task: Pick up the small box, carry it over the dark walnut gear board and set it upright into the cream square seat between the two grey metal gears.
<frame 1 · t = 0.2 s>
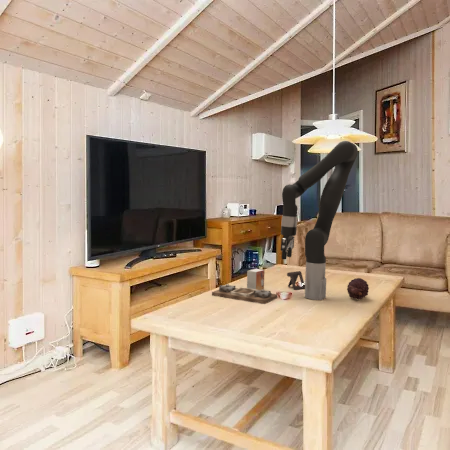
hand: (286, 258, 210), 18 cm above the table, tool pointing down, fingers open, 8 cm apart
gear board: (244, 296, 204), on the table
portable electronic device stand: (296, 288, 225), on the table
small box: (255, 291, 217), on the table
pine cone: (357, 299, 204), on the table
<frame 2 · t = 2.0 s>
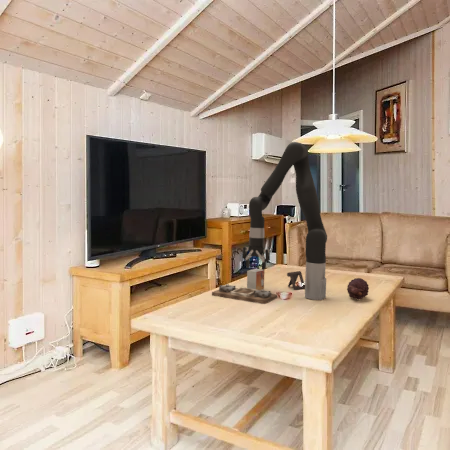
hand: (255, 268, 216), 11 cm above the table, tool pointing down, fingers open, 8 cm apart
nothing on the table moved.
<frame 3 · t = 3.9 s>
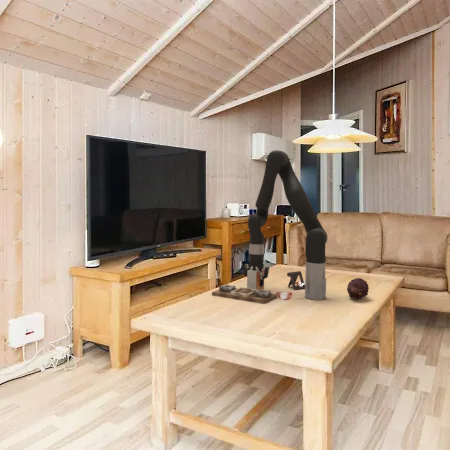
hand: (255, 285, 216), 3 cm above the table, tool pointing down, fingers closed on small box, 6 cm apart
small box: (255, 290, 217), on the table, touching gripper
everything else where it was.
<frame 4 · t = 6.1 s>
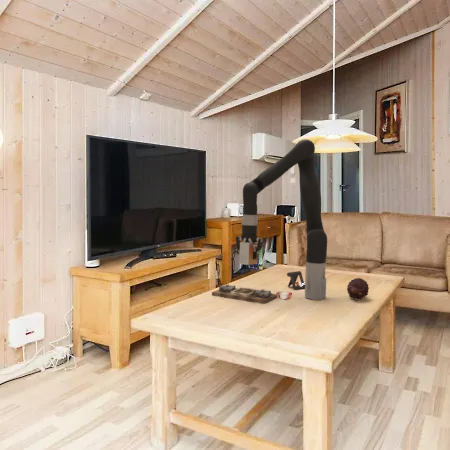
hand: (248, 258, 207), 18 cm above the table, tool pointing down, fingers closed on small box, 6 cm apart
small box: (248, 264, 207), point 15 cm above the table, touching gripper
everything else where it was.
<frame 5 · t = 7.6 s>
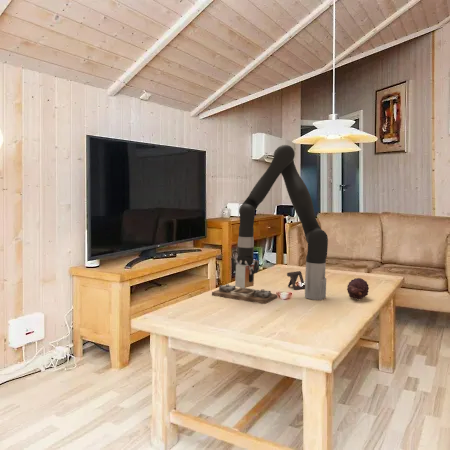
hand: (244, 280, 203), 8 cm above the table, tool pointing down, fingers closed on small box, 6 cm apart
small box: (244, 286, 204), point 5 cm above the table, touching gripper
everything else where it was.
when the fingers open (5 cm above the table, at t = 8.8 s): small box stays where it is, resting on gear board.
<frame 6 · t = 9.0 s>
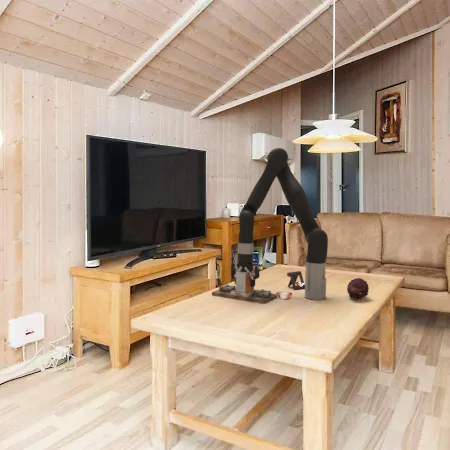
hand: (244, 286, 204), 5 cm above the table, tool pointing down, fingers open, 8 cm apart
small box: (244, 293, 204), point 1 cm above the table, touching gear board
everything else where it was.
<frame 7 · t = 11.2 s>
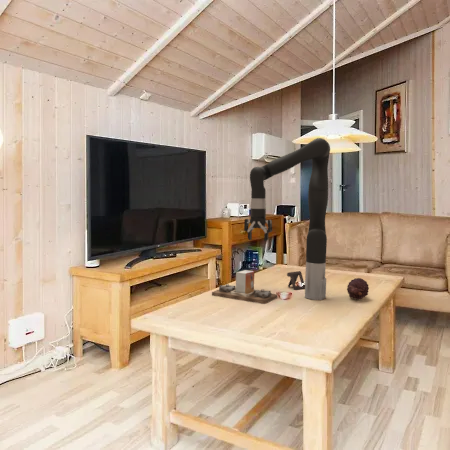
hand: (257, 240, 212), 26 cm above the table, tool pointing down, fingers open, 8 cm apart
nothing on the table moved.
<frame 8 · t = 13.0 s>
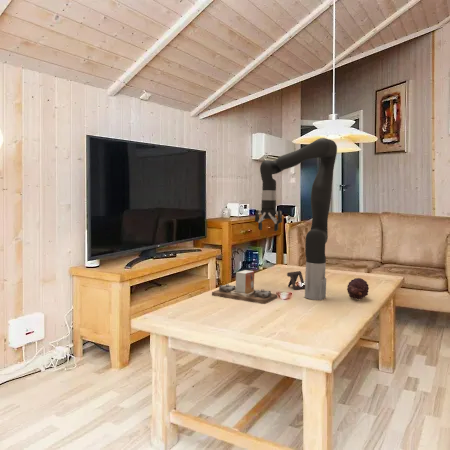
hand: (268, 230, 221), 30 cm above the table, tool pointing down, fingers open, 8 cm apart
nothing on the table moved.
at the end: small box 0.1 cm off-centre on the gear board, point 1.3 cm above the gear board's base; small box tilted 0°; the gripper is holding nothing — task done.
